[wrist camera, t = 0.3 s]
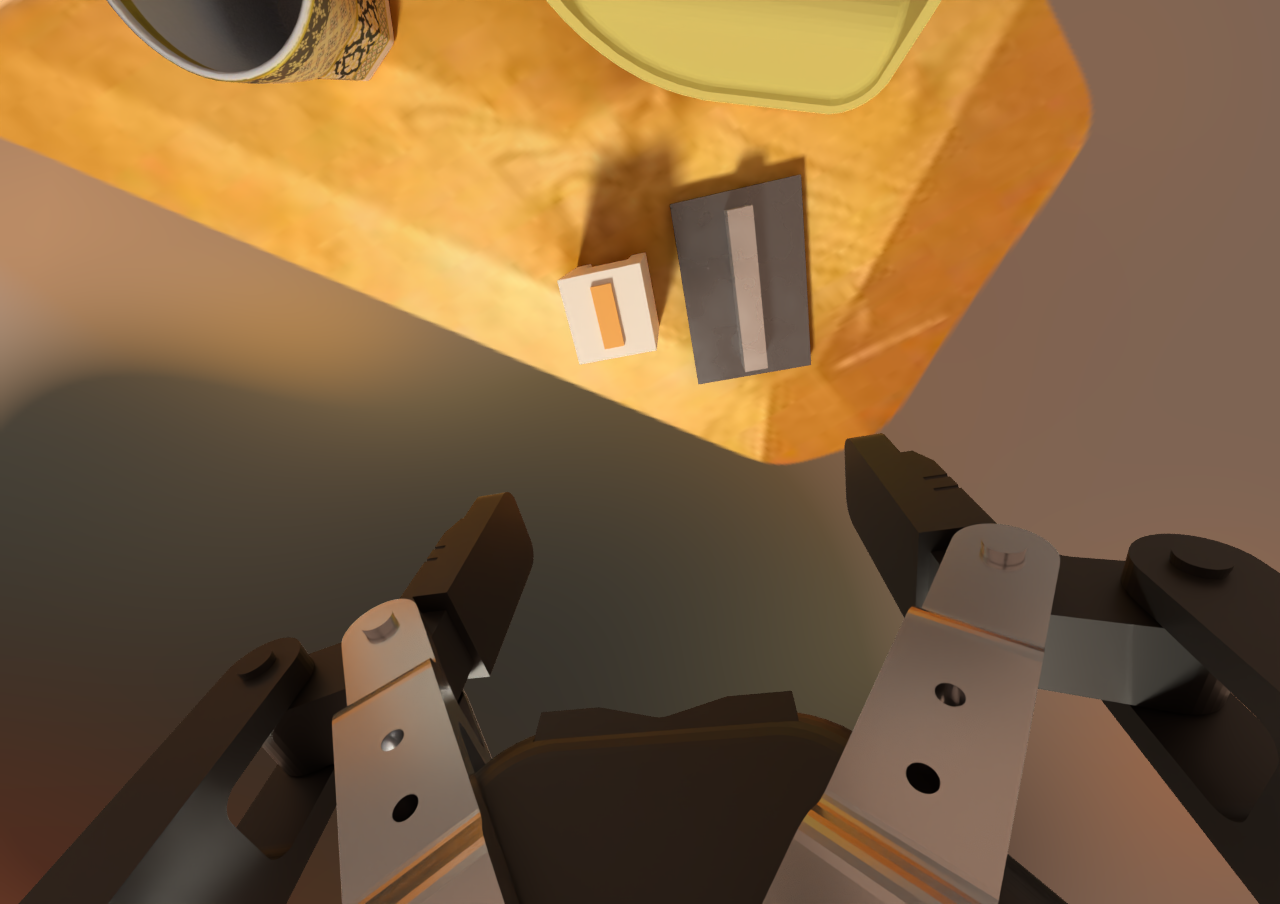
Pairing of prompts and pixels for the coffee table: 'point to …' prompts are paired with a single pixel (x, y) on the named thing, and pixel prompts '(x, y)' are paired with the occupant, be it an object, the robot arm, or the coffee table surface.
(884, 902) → the robot arm
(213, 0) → the ceramic cup
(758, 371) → the panel
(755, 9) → the plastic component
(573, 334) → the block
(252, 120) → the coffee table surface
